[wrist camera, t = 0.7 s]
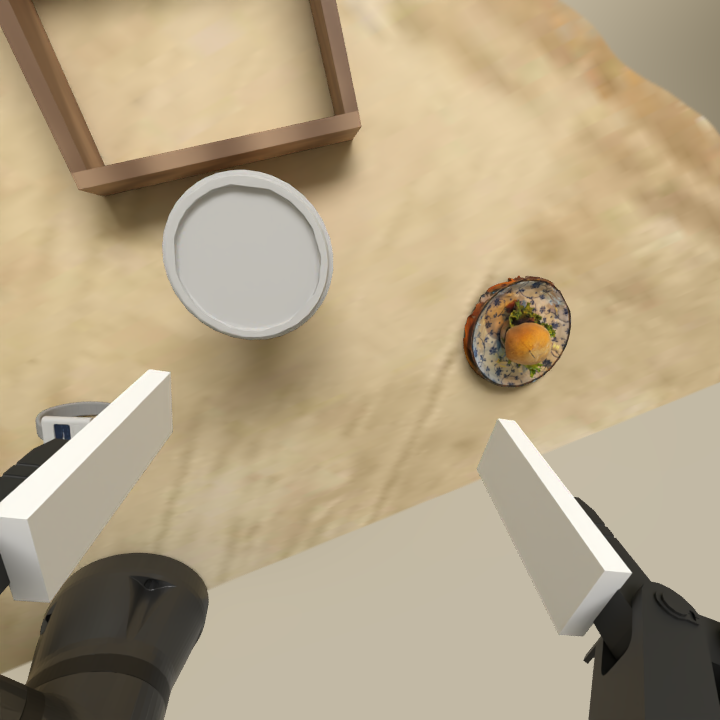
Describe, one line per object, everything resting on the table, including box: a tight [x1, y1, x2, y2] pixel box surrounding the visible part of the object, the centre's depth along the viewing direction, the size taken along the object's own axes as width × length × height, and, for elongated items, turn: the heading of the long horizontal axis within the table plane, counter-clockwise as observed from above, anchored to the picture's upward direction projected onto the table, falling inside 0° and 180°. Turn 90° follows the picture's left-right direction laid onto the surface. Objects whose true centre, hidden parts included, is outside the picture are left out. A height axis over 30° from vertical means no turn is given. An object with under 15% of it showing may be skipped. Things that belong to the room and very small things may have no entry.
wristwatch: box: [36, 402, 111, 444], centre depth 29 cm, size 6×3×5 cm, turn 82°
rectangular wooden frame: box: [0, 0, 361, 196], centre depth 24 cm, size 20×15×4 cm
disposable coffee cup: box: [162, 170, 333, 340], centre depth 25 cm, size 10×10×12 cm
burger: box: [463, 276, 571, 387], centre depth 35 cm, size 12×12×8 cm
